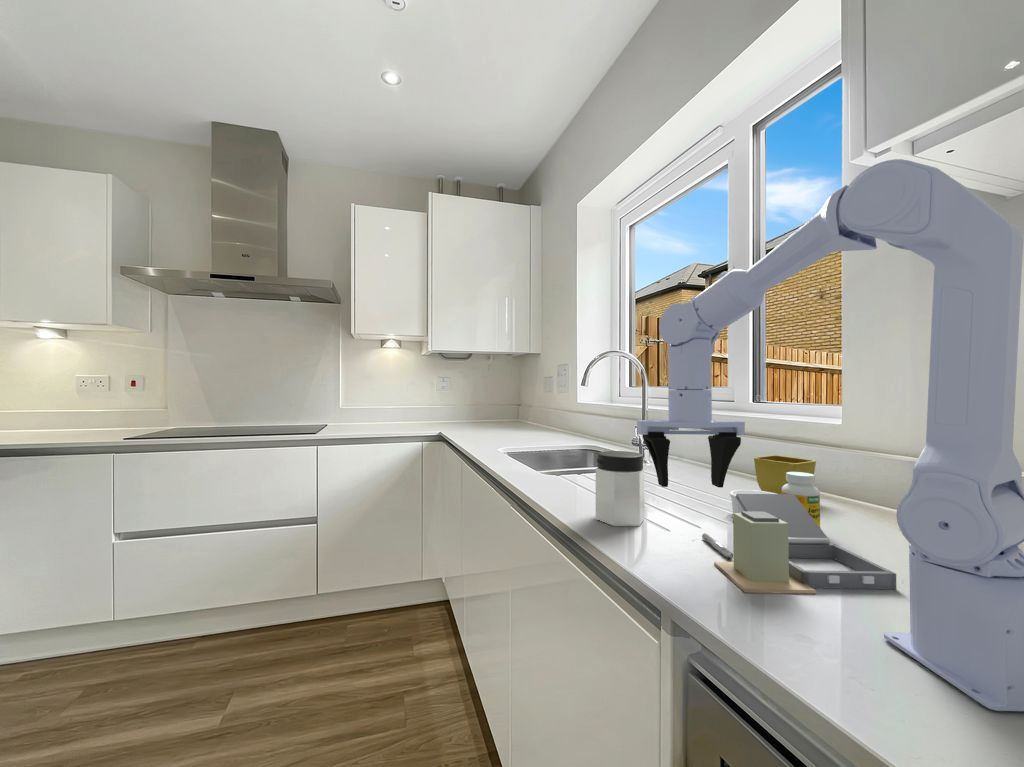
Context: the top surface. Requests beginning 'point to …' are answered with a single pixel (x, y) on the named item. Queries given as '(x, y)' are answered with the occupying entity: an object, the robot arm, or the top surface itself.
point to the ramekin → (735, 503)
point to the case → (862, 578)
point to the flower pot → (779, 471)
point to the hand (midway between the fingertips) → (690, 485)
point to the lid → (786, 516)
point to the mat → (762, 587)
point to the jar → (620, 488)
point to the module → (761, 546)
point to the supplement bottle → (804, 492)
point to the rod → (717, 546)
